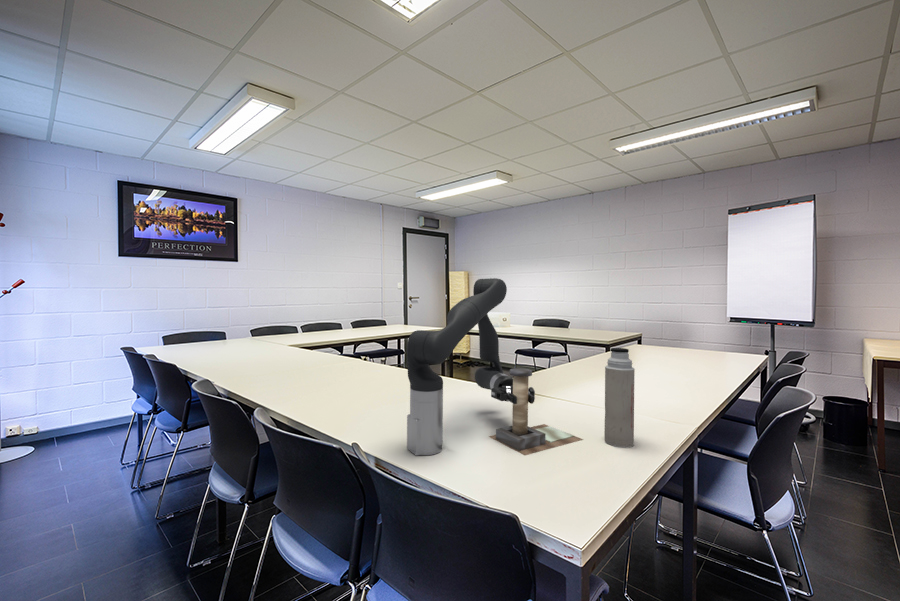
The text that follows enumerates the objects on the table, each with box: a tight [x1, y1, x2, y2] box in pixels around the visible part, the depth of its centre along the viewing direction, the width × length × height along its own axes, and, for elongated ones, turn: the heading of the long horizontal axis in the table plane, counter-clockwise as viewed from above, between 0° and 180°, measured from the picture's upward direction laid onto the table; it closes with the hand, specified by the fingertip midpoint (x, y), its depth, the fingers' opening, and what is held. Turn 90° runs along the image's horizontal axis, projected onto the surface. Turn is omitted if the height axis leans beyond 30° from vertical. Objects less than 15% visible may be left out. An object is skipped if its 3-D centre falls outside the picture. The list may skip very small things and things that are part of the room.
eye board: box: [488, 423, 584, 456], centre depth 115 cm, size 23×16×4 cm
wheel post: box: [509, 367, 533, 435], centre depth 112 cm, size 6×6×18 cm
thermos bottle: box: [603, 347, 636, 448], centre depth 114 cm, size 8×8×28 cm
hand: (524, 400), depth 109 cm, fingers closed on wheel post, 4 cm apart
